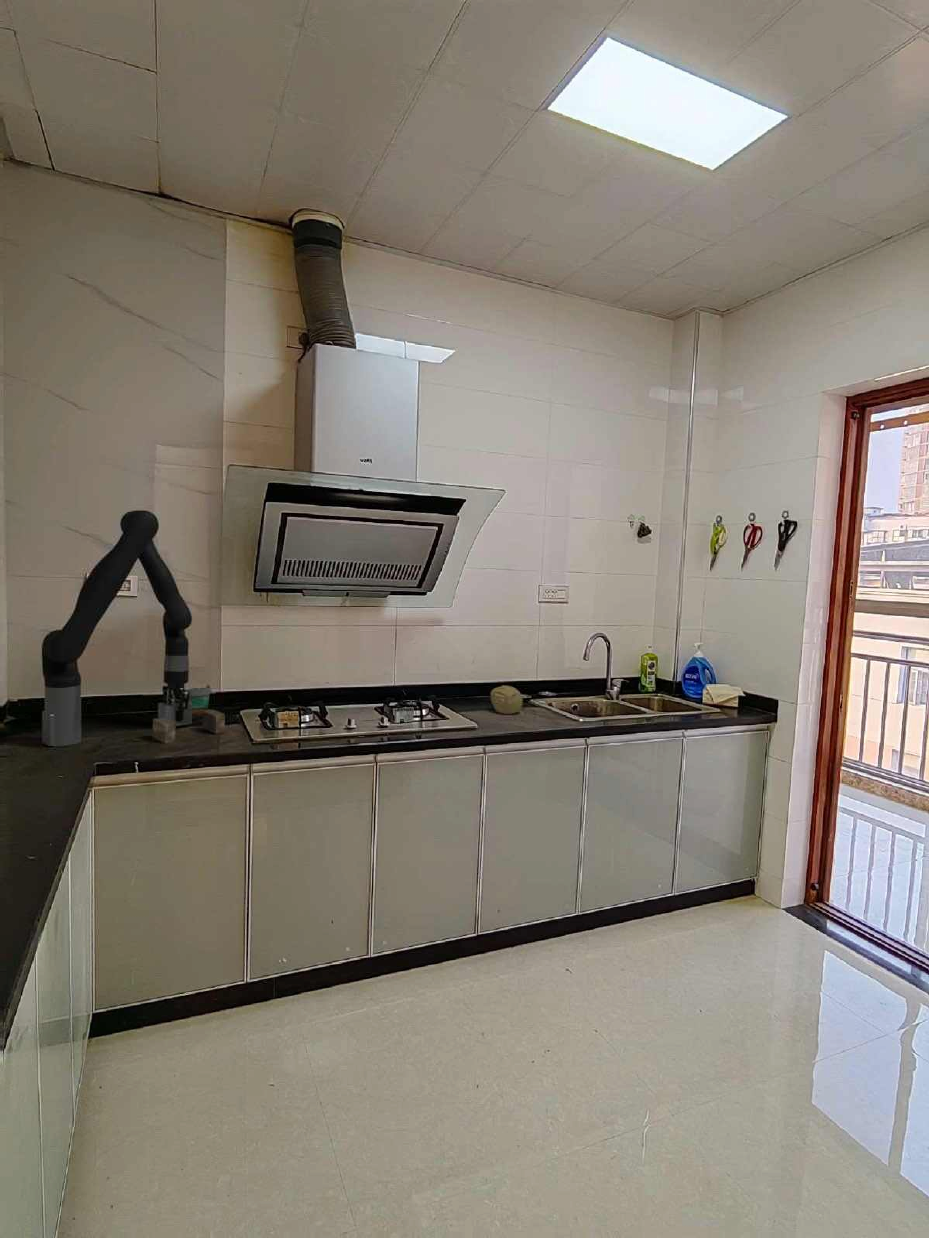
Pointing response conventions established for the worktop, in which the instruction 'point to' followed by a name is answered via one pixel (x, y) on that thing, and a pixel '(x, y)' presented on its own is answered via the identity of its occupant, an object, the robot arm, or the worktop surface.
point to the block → (174, 713)
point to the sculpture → (506, 699)
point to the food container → (199, 700)
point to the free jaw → (213, 721)
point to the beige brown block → (164, 730)
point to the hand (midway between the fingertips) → (175, 719)
